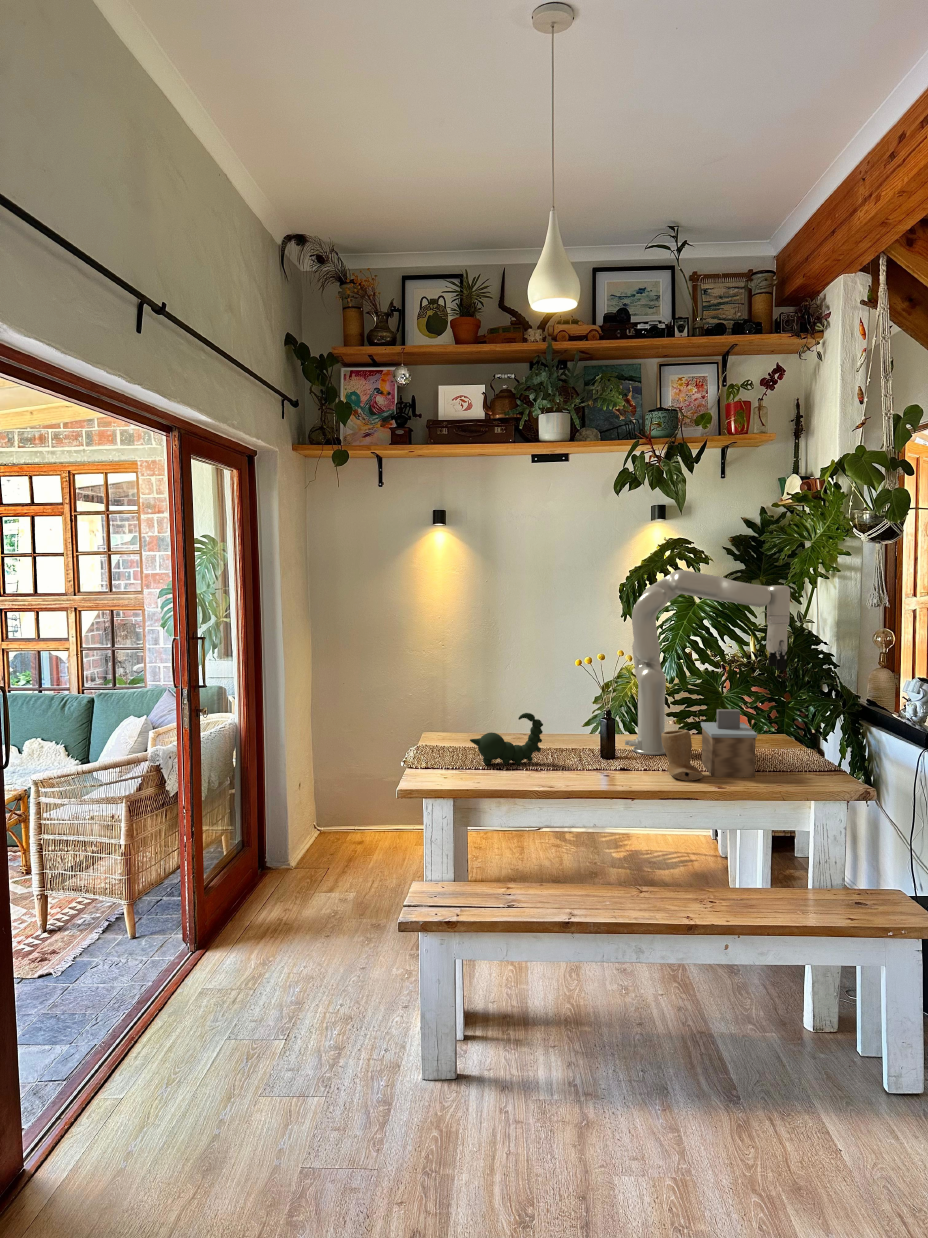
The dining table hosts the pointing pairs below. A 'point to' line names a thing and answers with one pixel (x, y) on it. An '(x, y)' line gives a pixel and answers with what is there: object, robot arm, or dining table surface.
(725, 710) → the lid
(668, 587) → the robot arm
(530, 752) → the toy figurine
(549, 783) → the dining table surface
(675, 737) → the tan boot
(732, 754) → the crate
